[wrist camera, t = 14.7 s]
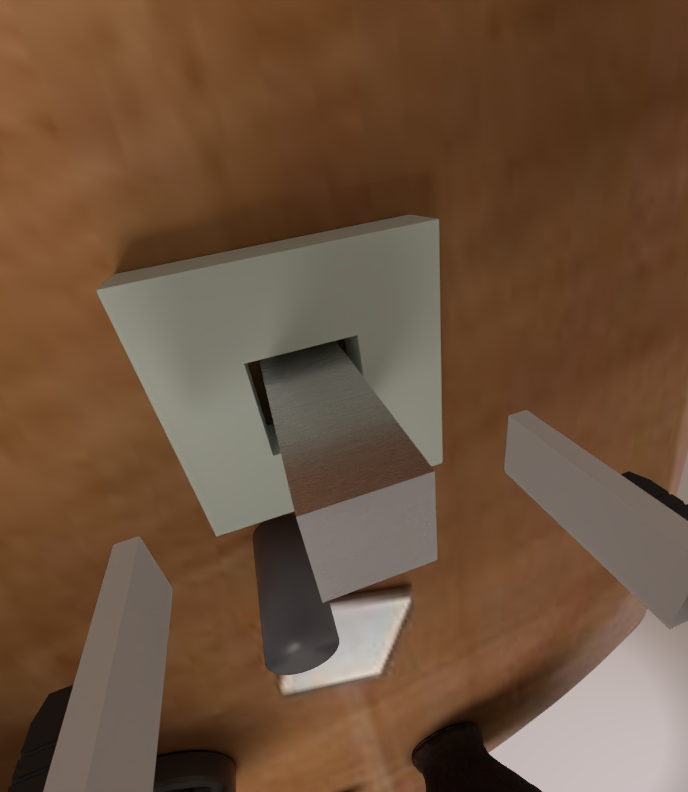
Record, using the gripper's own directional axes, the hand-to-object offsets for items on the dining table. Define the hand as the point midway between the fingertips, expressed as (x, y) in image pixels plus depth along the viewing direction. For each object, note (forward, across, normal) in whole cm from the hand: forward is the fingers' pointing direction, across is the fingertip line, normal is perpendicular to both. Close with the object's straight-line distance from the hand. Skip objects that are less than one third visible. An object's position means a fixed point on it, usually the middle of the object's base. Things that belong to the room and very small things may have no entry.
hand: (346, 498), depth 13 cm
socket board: (+10, 0, 0) cm, 10 cm away
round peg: (+10, -4, -12) cm, 16 cm away
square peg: (+10, 0, 0) cm, 10 cm away
